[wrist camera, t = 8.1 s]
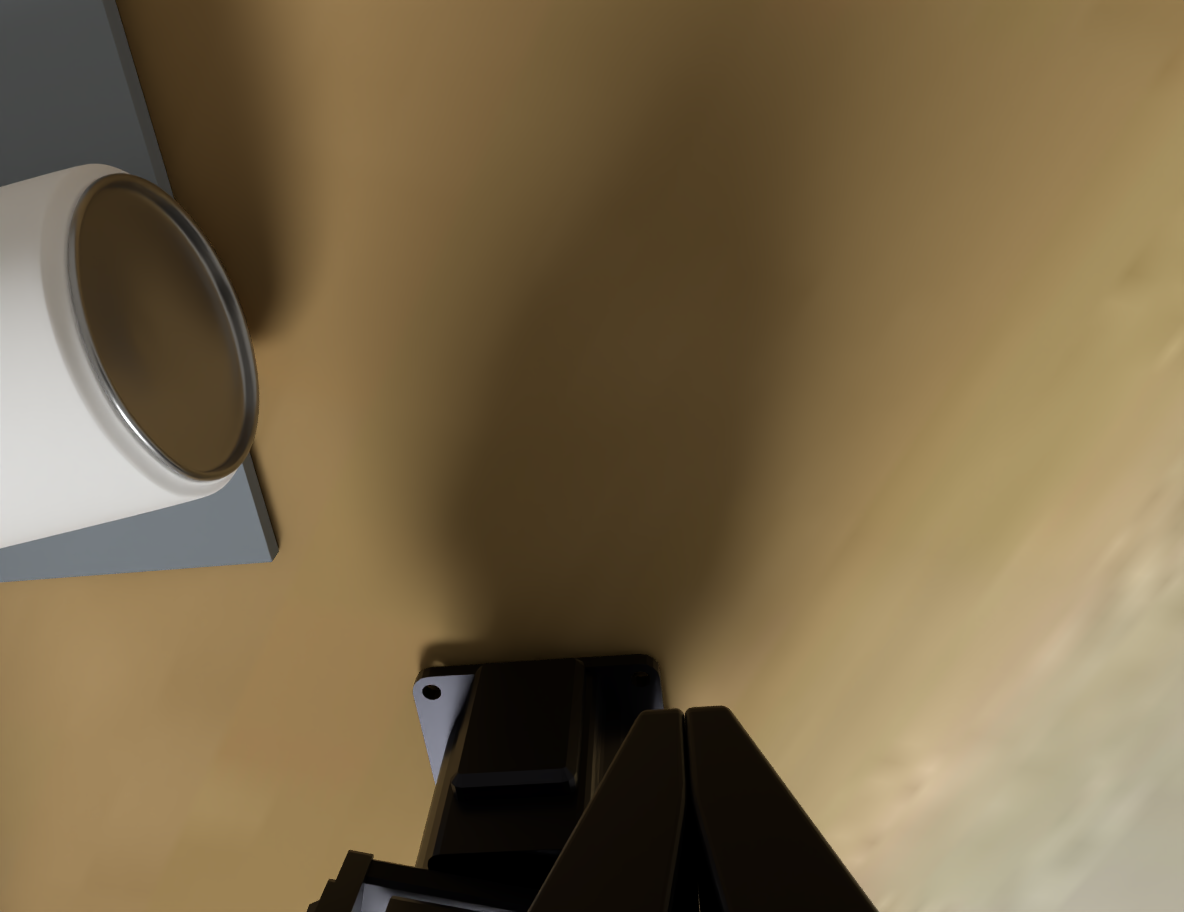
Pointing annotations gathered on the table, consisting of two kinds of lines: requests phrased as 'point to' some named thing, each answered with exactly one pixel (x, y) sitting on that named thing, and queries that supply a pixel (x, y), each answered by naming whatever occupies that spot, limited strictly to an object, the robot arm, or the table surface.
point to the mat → (127, 141)
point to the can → (114, 355)
